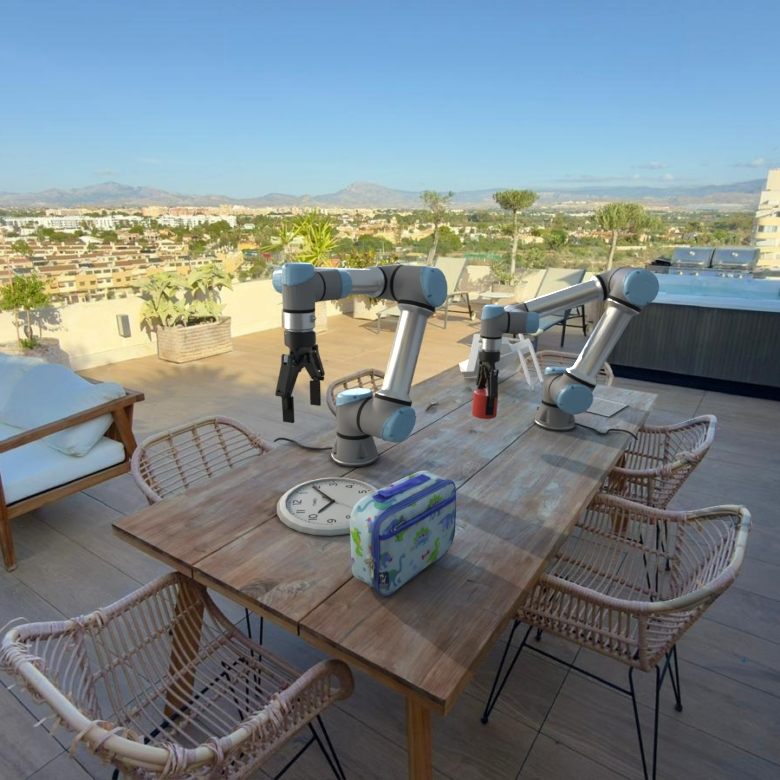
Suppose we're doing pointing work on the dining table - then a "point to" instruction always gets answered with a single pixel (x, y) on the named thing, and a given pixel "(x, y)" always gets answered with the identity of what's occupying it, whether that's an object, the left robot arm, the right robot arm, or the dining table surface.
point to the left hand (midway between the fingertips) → (302, 413)
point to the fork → (432, 403)
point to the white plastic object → (503, 358)
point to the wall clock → (322, 505)
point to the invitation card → (605, 407)
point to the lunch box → (402, 530)
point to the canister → (482, 404)
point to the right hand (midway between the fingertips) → (484, 410)
